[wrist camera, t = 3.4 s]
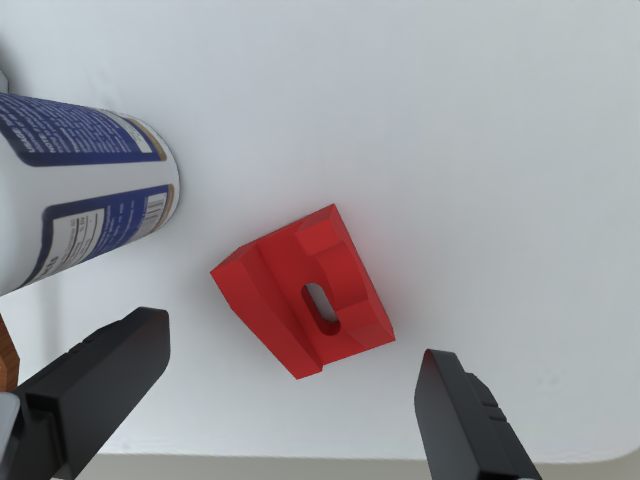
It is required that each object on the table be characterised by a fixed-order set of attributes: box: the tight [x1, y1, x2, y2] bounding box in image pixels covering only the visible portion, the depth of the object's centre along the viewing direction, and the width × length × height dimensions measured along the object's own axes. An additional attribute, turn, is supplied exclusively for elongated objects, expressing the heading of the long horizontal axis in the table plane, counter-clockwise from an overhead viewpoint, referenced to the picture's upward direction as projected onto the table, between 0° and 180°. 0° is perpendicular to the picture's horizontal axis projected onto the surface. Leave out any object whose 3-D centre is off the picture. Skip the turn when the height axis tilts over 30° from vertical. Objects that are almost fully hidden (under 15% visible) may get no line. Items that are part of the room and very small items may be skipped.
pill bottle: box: [0, 92, 180, 296], centre depth 9 cm, size 5×5×10 cm
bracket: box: [210, 204, 395, 380], centre depth 13 cm, size 6×5×3 cm
